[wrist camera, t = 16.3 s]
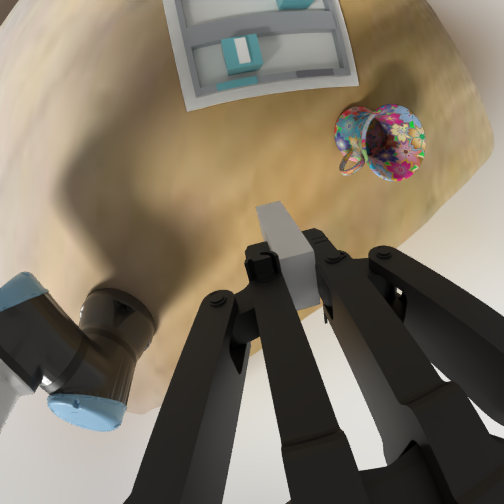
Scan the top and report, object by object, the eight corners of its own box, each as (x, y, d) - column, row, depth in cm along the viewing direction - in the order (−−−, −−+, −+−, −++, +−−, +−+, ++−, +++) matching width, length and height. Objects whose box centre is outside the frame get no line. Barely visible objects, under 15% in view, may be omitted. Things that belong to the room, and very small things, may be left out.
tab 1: (227, 75, 30) (227, 68, 25) (221, 49, 28) (220, 38, 23) (258, 70, 30) (264, 62, 25) (252, 43, 28) (256, 32, 23)
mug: (363, 92, 33) (403, 90, 24) (393, 142, 37) (435, 155, 27) (302, 137, 36) (328, 145, 27) (338, 186, 40) (370, 210, 30)
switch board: (187, 111, 33) (184, 111, 30) (162, -6, 23) (157, -15, 21) (356, 86, 32) (366, 84, 30) (326, -26, 23) (333, -34, 20)
